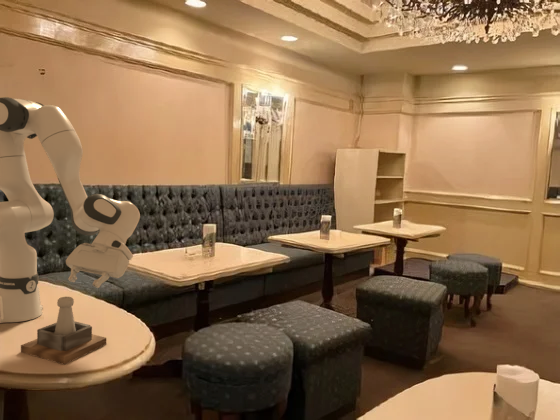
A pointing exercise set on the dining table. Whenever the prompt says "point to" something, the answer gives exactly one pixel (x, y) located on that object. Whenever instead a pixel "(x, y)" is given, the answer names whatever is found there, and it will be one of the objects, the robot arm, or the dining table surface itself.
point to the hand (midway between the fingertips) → (82, 283)
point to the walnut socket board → (63, 343)
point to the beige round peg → (65, 316)
